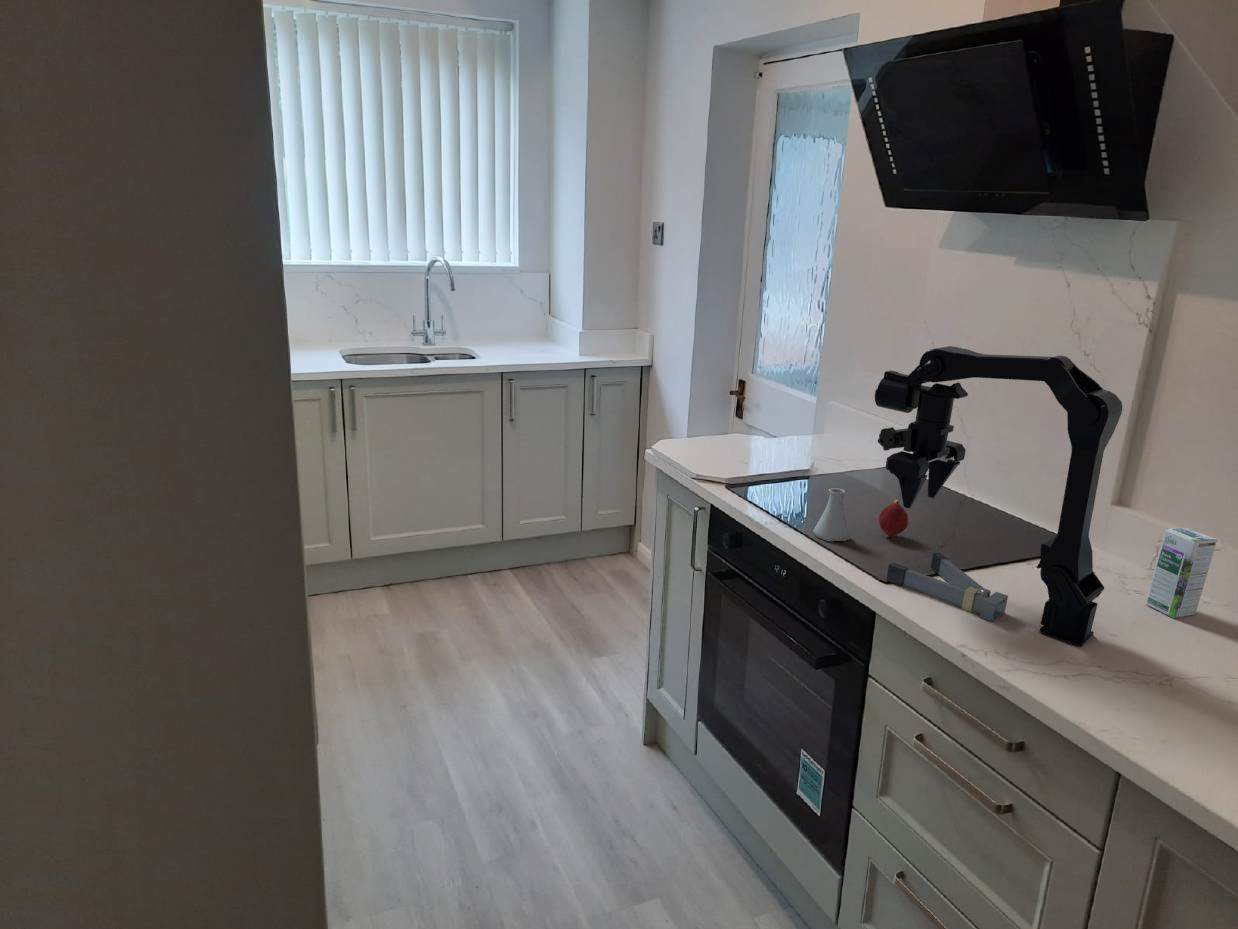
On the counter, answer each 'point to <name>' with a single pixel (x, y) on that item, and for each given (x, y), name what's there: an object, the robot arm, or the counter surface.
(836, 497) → the flask
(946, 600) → the tongs
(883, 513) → the onion
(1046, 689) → the counter surface
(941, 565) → the tongs arm
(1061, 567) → the robot arm
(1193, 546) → the syrup box
